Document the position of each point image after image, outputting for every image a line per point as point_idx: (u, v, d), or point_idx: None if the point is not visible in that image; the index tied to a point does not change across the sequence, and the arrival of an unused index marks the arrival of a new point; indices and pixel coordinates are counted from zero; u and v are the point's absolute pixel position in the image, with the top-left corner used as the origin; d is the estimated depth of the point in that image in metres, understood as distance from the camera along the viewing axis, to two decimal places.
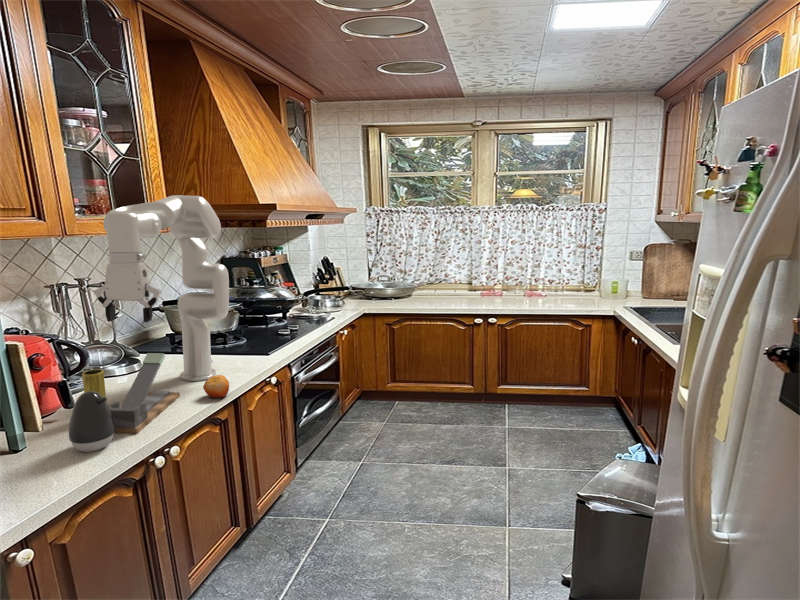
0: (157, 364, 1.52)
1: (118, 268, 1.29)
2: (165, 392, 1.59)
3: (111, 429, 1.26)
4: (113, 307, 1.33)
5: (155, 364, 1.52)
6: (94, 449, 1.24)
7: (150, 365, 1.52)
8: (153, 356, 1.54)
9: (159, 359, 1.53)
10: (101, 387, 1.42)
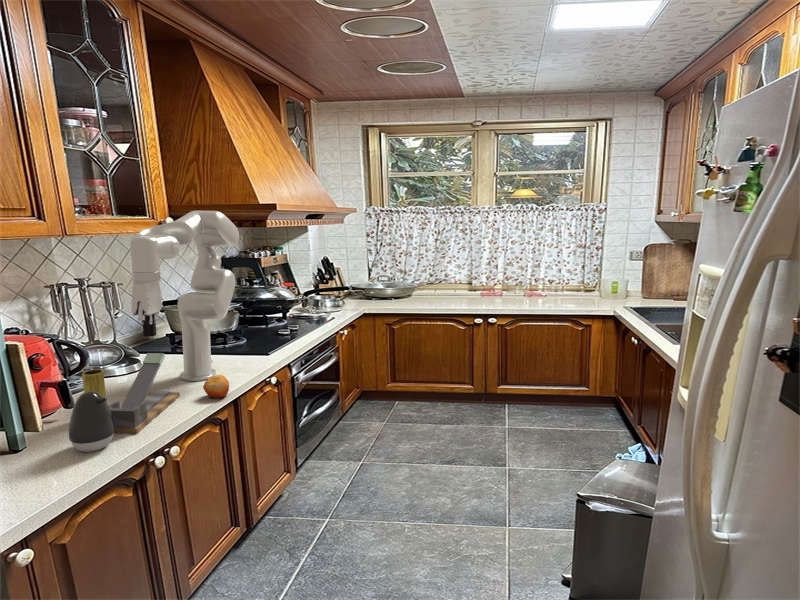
0: (157, 364, 1.52)
1: (154, 286, 1.48)
2: (165, 392, 1.59)
3: (111, 429, 1.26)
4: None
5: (155, 364, 1.52)
6: (94, 449, 1.24)
7: (150, 365, 1.52)
8: (153, 356, 1.54)
9: (159, 359, 1.53)
10: (101, 387, 1.42)
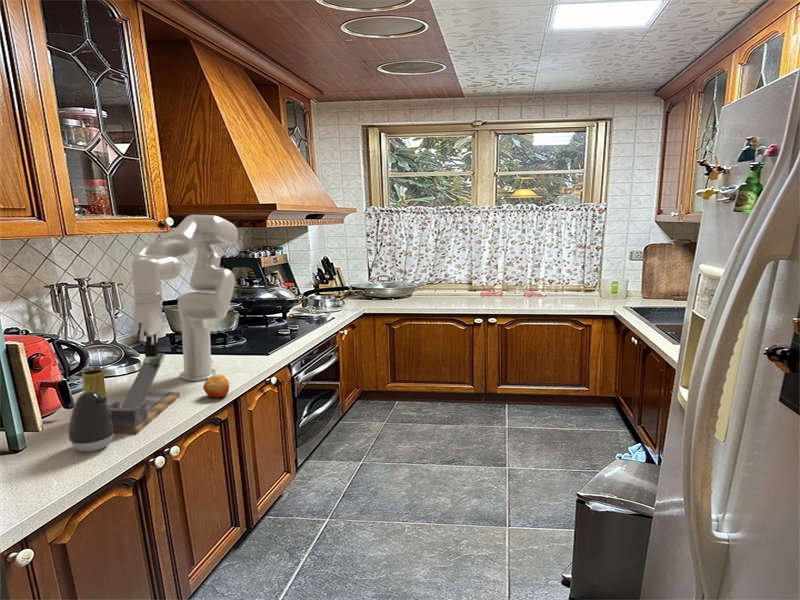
0: (157, 364, 1.52)
1: (155, 307, 1.49)
2: (165, 392, 1.59)
3: (111, 429, 1.26)
4: None
5: (155, 364, 1.52)
6: (94, 449, 1.24)
7: (150, 365, 1.52)
8: None
9: (159, 359, 1.53)
10: (101, 387, 1.42)
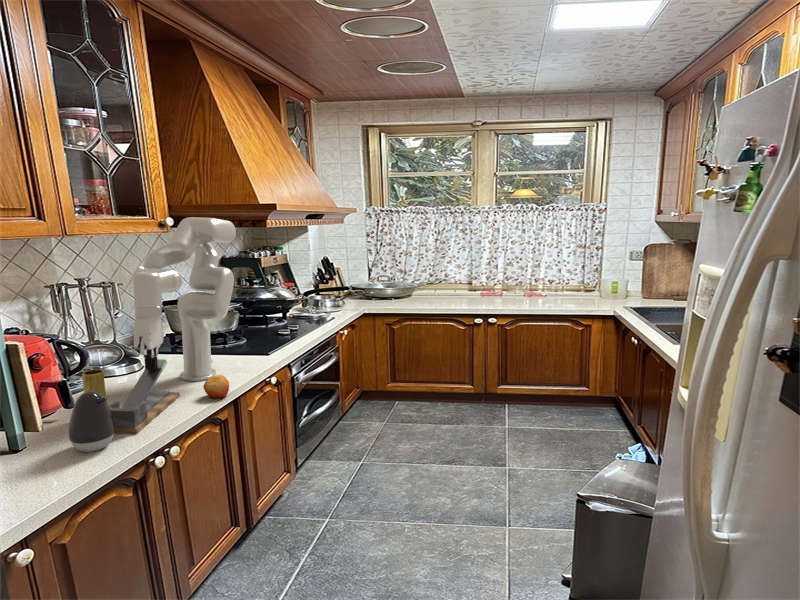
0: (159, 369, 1.54)
1: (156, 320, 1.50)
2: (165, 392, 1.59)
3: (111, 429, 1.26)
4: None
5: (157, 369, 1.54)
6: (94, 449, 1.24)
7: (152, 370, 1.53)
8: None
9: (161, 364, 1.55)
10: (101, 387, 1.42)
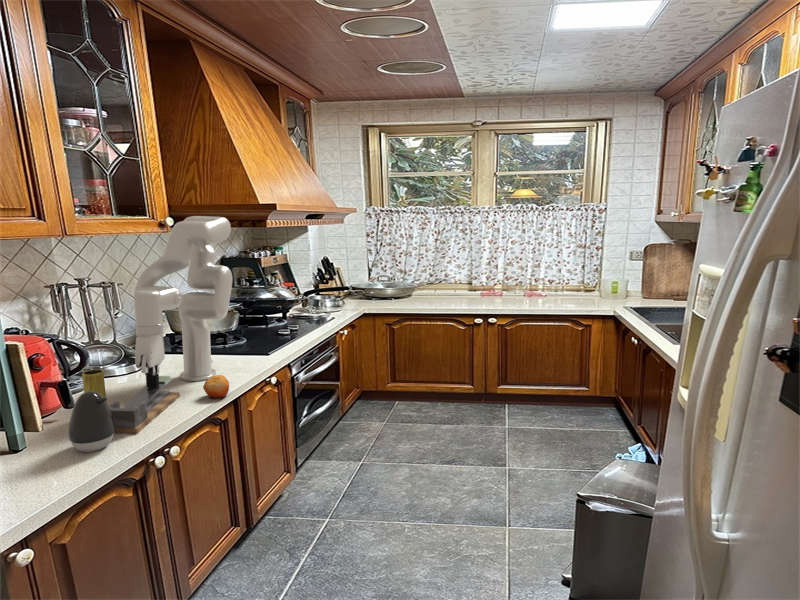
0: (162, 383, 1.56)
1: (157, 338, 1.51)
2: (165, 392, 1.59)
3: (111, 429, 1.26)
4: None
5: (160, 383, 1.56)
6: (94, 449, 1.24)
7: None
8: (159, 378, 1.59)
9: (165, 379, 1.58)
10: (101, 387, 1.42)
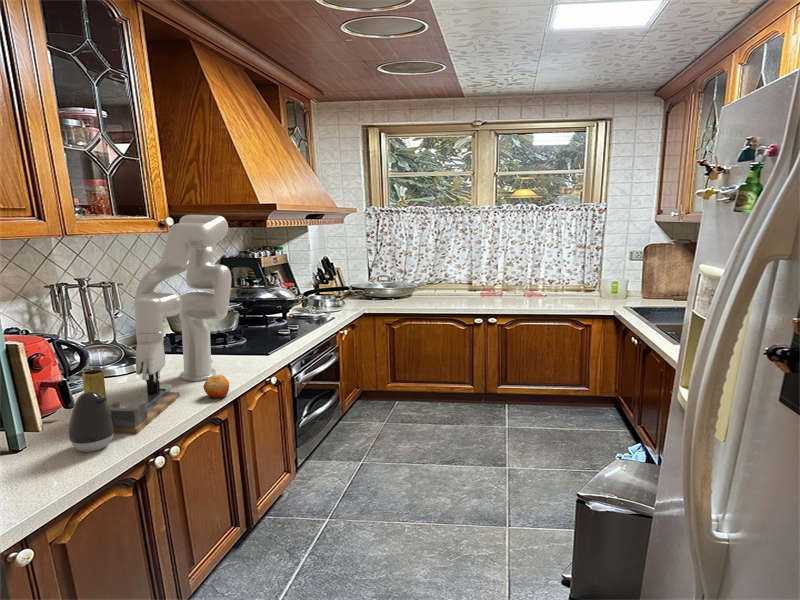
0: (163, 390, 1.57)
1: (157, 345, 1.51)
2: None
3: (111, 429, 1.26)
4: None
5: (161, 390, 1.57)
6: (94, 449, 1.24)
7: None
8: (160, 385, 1.60)
9: (166, 387, 1.59)
10: (101, 387, 1.42)
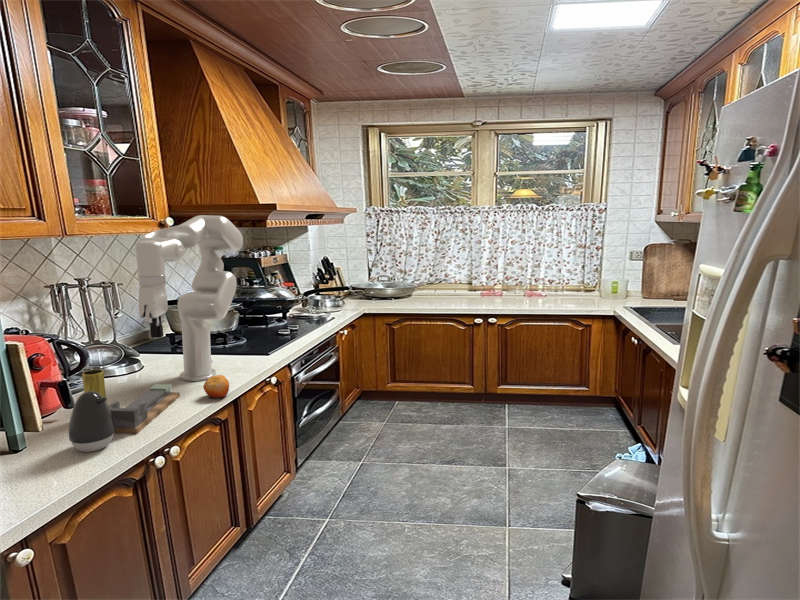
0: (163, 390, 1.57)
1: (160, 289, 1.52)
2: None
3: (111, 429, 1.26)
4: None
5: (161, 390, 1.57)
6: (94, 449, 1.24)
7: (156, 390, 1.56)
8: (160, 385, 1.60)
9: (166, 387, 1.59)
10: (101, 387, 1.42)
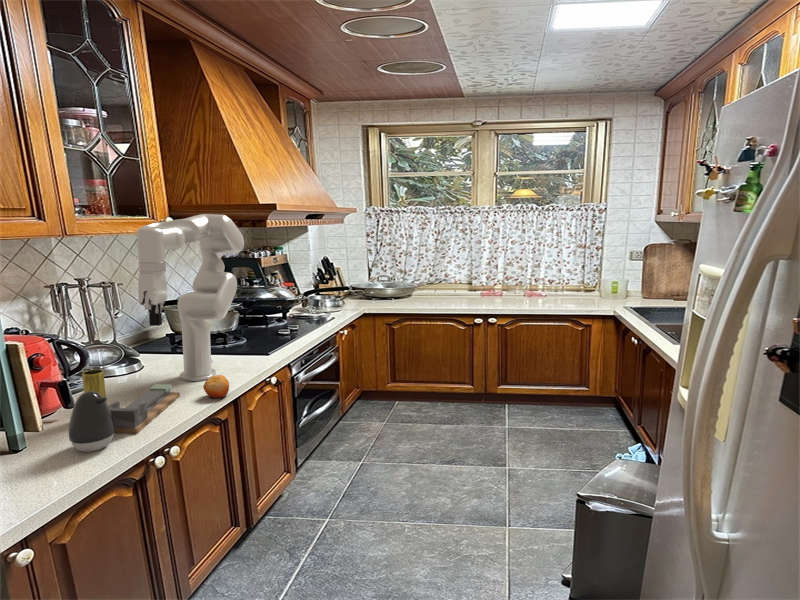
0: (163, 390, 1.57)
1: (160, 276, 1.52)
2: None
3: (111, 429, 1.26)
4: None
5: (161, 390, 1.57)
6: (94, 449, 1.24)
7: (156, 390, 1.56)
8: (160, 385, 1.60)
9: (166, 387, 1.59)
10: (101, 387, 1.42)
